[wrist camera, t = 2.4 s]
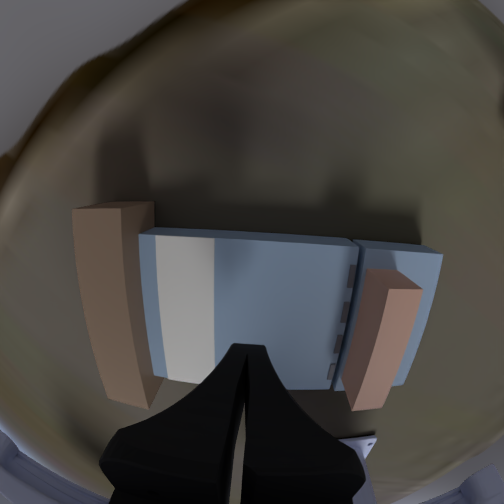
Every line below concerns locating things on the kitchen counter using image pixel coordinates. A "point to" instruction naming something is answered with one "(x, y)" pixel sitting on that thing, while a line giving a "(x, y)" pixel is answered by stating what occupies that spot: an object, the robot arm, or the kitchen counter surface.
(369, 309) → the slab with raised block
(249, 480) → the robot arm
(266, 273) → the striped blue tabbed panel
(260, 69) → the kitchen counter surface
